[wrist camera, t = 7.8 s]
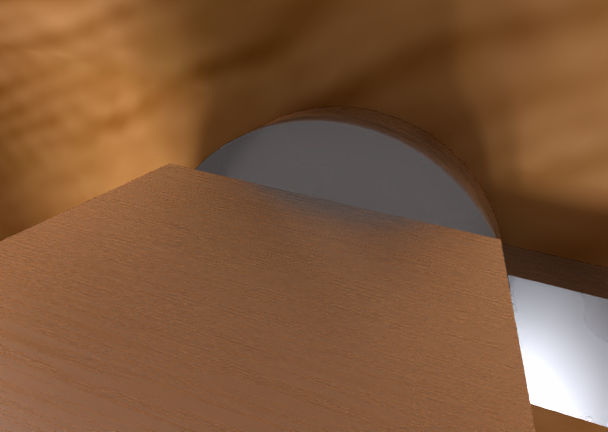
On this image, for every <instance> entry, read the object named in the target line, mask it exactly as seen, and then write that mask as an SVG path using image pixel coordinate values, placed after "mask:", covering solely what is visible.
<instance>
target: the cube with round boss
mask: <svg viewBox="0 0 608 432" xmlns="http://www.w3.org/2000/svg"><path fill="white" fill-rule="evenodd" d="M0 432H536V431H535V426H534V420H533V415H532V409H531V404H530V398H529V393H528V387H527V382H526V376H525V371H524V365H523V360H522V354H521V349H520V343H519V338H518V332H517V327H516V322H515V316H514V311H513V305H512V300H511V294H510V289H509V283H508V278H507V272H506V267H505V261H504V256H503V250H502V245H501V240H500V239H496V238H491V237H487V236H483V235H478V234H474V233H470V232H465V231H461V230H457V229H452V228H448V227H444V226H439V225H435V224H430V223H426V222H422V221H417V220H413V219H409V218H404V217H400V216H396V215H391V214H387V213H383V212H378V211H374V210H370V209H365V208H361V207H356V206H352V205H348V204H343V203H339V202H335V201H330V200H326V199H322V198H317V197H313V196H309V195H304V194H300V193H295V192H291V191H287V190H282V189H278V188H274V187H269V186H265V185H261V184H256V183H252V182H248V181H243V180H239V179H234V178H230V177H226V176H221V175H217V174H213V173H208V172H204V171H200V170H195V169H191V168H187V167H182V166H178V165H173V164H167V165H165V166H163V167H161V168H159V169H156V170H154V171H152V172H150V173H148V174H145V175H143V176H141V177H139V178H137V179H135V180H132V181H130V182H128V183H126V184H124V185H122V186H119V187H117V188H115V189H113V190H111V191H109V192H106V193H104V194H102V195H100V196H98V197H95V198H93V199H91V200H89V201H87V202H85V203H82V204H80V205H78V206H76V207H74V208H72V209H69V210H67V211H65V212H63V213H61V214H58V215H56V216H54V217H52V218H50V219H48V220H45V221H43V222H41V223H39V224H37V225H35V226H32V227H30V228H28V229H26V230H24V231H22V232H19V233H17V234H15V235H13V236H11V237H8V238H6V239H4V240H2V241H0Z"/></svg>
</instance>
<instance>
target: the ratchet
mask: <svg viewBox="0 0 608 432" xmlns="http://www.w3.org/2000/svg"><path fill="white" fill-rule="evenodd" d="M195 170H200V171H204V172H208V173H213V174H217V175H221V176H226V177H230V178H234V179H239V180H243V181H248V182H252V183H256V184H261V185H265V186H269V187H274V188H278V189H282V190H287V191H291V192H295V193H300V194H304V195H309V196H313V197H317V198H322V199H326V200H330V201H335V202H339V203H343V204H348V205H352V206H356V207H361V208H365V209H370V210H374V211H378V212H383V213H387V214H391V215H396V216H400V217H404V218H409V219H413V220H417V221H422V222H426V223H430V224H435V225H439V226H444V227H448V228H452V229H457V230H461V231H465V232H470V233H474V234H478V235H483V236H487V237H491V238H496V239H500V240H501V236H500V232H499V228H498V223H497V220H496V217H495V215H494V212H493V210H492V207H491V205H490V202H489V200H488V198H487V197H486V195H485V193H484V191H483V190H482V188H481V186H480V184H479V183H478V181H477V180H476V179H475V177H474V176H473V175H472V174H471V172H470V171H469V170H468V168H467V167H466V166H465V165H464V164H463V163H462V162H461V161H460V160H459V159H458V158H457V157H456V156H455V155H454V154H453V153H452V152H451V151H450V150H449V149H448V148H447V147H446V146H444V145H443V144H441V143H440V142H439V141H437V140H436V139H435V138H433V137H432V136H431V135H429V134H428V133H426V132H424V131H422V130H420V129H419V128H417V127H415V126H413V125H411V124H410V123H408V122H405V121H402V120H400V119H397V118H395V117H392V116H390V115H387V114H383V113H379V112H375V111H371V110H367V109H361V108H351V107H318V108H313V109H307V110H301V111H297V112H294V113H291V114H288V115H285V116H282V117H279V118H277V119H275V120H273V121H271V122H269V123H267V124H265V125H263V126H261V127H259V128H257V129H255V130H253V131H251V132H249V133H247V134H245V135H243V136H241V137H239V138H237V139H235V140H233V141H231V142H229V143H227V144H225V145H224V146H222V147H221V148H219V149H218V150H217V151H215V152H214V153H212V154H211V155H210V156H208V157H207V158H206V159H205V160H204V161H203V162H202V163H201V164H200V165H199V166H198V167H197V168H196V169H195ZM501 245H502V250H503V256H504V261H505V267H506V272H507V278H508V283H509V289H510V294H511V300H512V305H513V311H514V316H515V322H516V327H517V332H518V338H519V343H520V349H521V354H522V360H523V365H524V371H525V376H526V382H527V387H528V393H529V398H530V404H533V405H537V406H540V407H543V408H546V409H550V410H553V411H556V412H559V413H563V414H566V415H569V416H572V417H576V418H579V419H582V420H586V421H589V422H592V423H595V424H599V425H602V426H605V427H608V268H606V267H601V266H597V265H593V264H588V263H584V262H580V261H575V260H571V259H567V258H562V257H558V256H554V255H549V254H545V253H541V252H536V251H532V250H527V249H523V248H519V247H514V246H510V245H506V244H502V241H501Z"/></svg>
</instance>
